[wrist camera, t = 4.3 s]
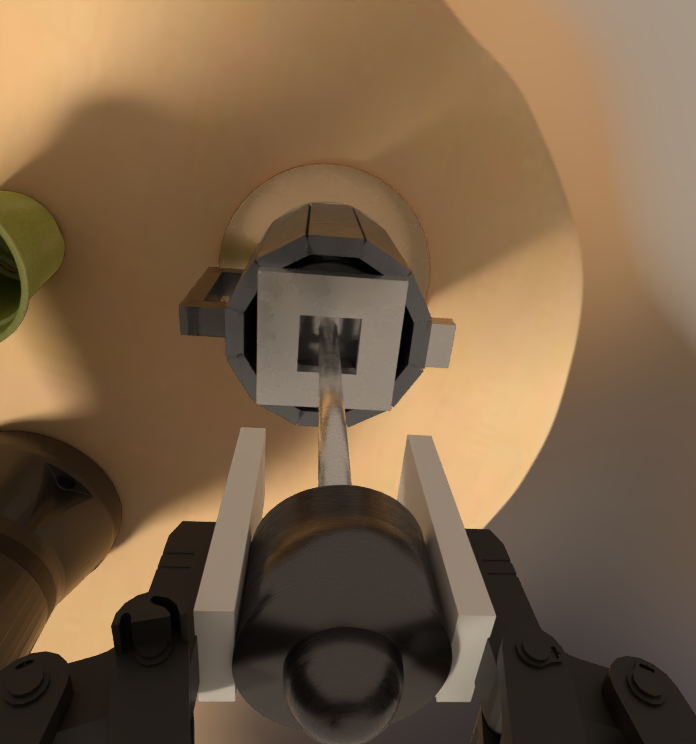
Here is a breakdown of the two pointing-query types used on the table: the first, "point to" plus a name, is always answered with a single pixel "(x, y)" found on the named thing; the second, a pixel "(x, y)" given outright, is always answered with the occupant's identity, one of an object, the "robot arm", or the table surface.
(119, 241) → the table surface
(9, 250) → the plant pot
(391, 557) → the plunger
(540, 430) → the table surface
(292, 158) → the table surface
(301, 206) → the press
